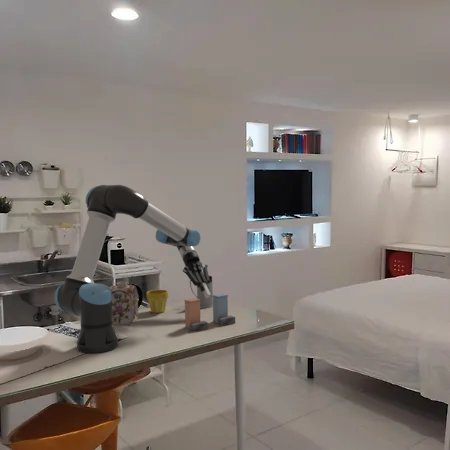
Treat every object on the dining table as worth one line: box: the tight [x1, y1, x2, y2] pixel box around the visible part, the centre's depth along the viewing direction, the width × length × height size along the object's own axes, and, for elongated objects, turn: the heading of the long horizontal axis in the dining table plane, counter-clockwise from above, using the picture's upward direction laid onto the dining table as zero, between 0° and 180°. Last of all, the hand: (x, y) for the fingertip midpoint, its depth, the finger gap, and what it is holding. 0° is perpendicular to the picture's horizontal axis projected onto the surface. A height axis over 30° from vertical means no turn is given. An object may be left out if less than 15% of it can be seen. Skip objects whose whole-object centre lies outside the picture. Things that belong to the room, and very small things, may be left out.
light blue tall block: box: [212, 293, 229, 324], centre depth 208 cm, size 5×4×12 cm
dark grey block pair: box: [189, 315, 236, 333], centre depth 205 cm, size 26×14×4 cm, turn 125°
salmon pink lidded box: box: [184, 297, 201, 330], centre depth 200 cm, size 5×4×12 cm
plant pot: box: [146, 289, 169, 314], centre depth 232 cm, size 10×10×10 cm
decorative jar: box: [109, 281, 139, 326], centre depth 214 cm, size 12×12×18 cm
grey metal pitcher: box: [189, 275, 214, 309], centre depth 242 cm, size 9×14×15 cm, turn 53°
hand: (208, 296), depth 216 cm, fingers closed
